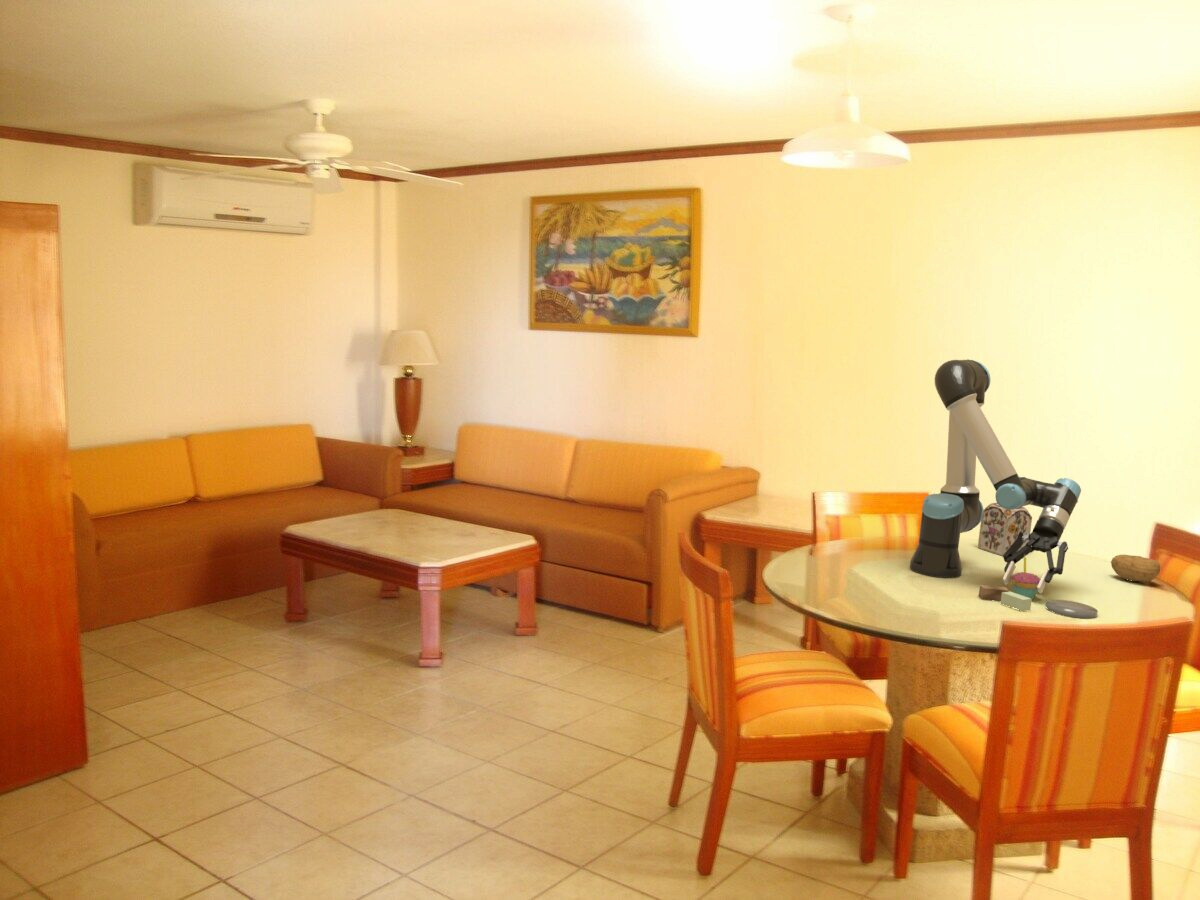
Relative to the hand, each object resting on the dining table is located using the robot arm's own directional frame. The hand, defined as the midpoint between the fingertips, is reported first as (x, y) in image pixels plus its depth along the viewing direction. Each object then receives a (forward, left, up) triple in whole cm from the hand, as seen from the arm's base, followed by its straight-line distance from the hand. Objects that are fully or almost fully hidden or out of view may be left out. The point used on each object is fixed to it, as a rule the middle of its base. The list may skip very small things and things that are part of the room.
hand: (1021, 586), depth 288 cm
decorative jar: (-8, +62, -4) cm, 63 cm away
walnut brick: (-7, -5, -4) cm, 9 cm away
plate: (+13, -4, -4) cm, 14 cm away
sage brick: (-1, -10, -4) cm, 11 cm away
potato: (+31, +47, -4) cm, 57 cm away
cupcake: (+1, +3, -4) cm, 5 cm away
